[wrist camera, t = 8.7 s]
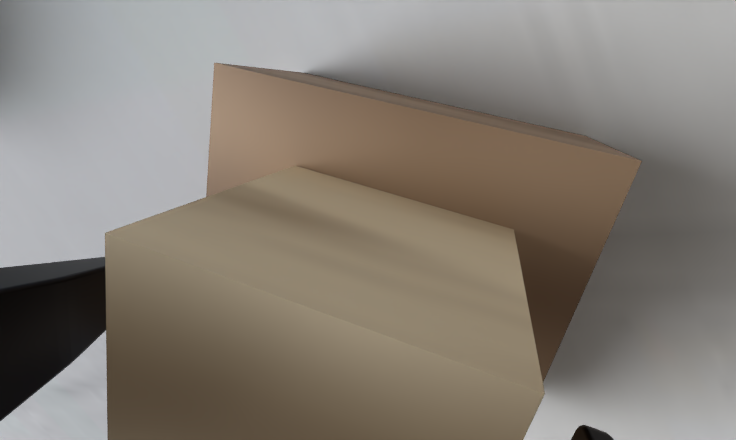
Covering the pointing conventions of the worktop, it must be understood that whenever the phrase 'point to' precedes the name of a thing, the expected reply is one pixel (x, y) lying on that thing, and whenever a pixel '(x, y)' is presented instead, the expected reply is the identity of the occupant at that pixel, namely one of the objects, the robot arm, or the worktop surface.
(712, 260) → the worktop surface
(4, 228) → the worktop surface
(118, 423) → the maple cube
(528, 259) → the walnut block
